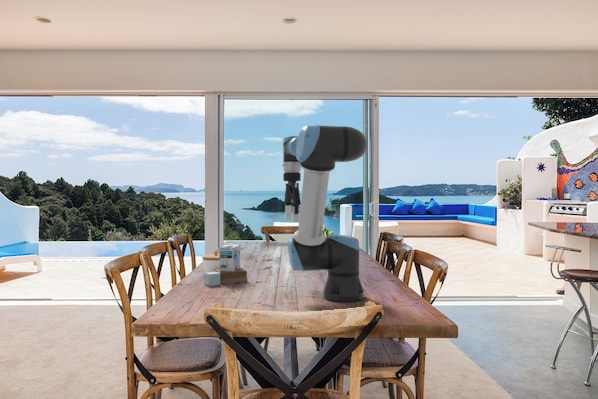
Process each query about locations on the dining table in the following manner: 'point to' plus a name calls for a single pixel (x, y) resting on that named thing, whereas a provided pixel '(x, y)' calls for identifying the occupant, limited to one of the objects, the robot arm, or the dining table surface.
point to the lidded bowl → (211, 262)
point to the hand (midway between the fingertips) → (292, 221)
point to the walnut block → (232, 276)
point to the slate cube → (212, 278)
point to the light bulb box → (229, 257)
